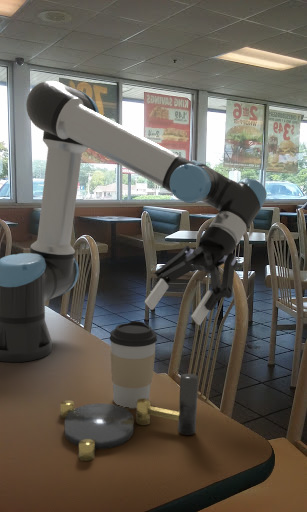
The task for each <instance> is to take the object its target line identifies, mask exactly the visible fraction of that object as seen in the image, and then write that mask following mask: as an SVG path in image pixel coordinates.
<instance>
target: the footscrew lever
mask: <svg viewBox="0 0 307 512" xmlns="http://www.w3.org/2000/svg"><path fill="white" fill-rule="evenodd" d="M179 379H180V381H179V401H178V403H179V404H178V410H177V411H176V410H171V409H165V408H162V407H157V406H151V399H150V398H149V399H144V398H143V399H139V400H137V408H136V421H135V422H136V424H137V425H138V426H139V425H140V426H147V425H149V424H150V422H151V416H154V417H158V418H164V419H168V420H173V421H176V422H177V431H178V433H180V434H181V435H185V436H190V435H193V434H195V433H196V430H197V429H196V427H197V410H198V409H197V408H198V395H199V393H198V392H199V391H198V389H199V376H198V375H197V374H195V373H183V374H181V375H180V378H179Z"/></svg>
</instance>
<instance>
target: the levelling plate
mask: <svg viewBox="0 0 307 512" xmlns="http://www.w3.org/2000/svg"><path fill="white" fill-rule="evenodd" d="M60 417H61V418H63V419H64V436H65V438H66V439H67V440H68V441H69V442H70V443H71V444H73V445H75V446H78V459H79V460H80V461H83V462H91V461H92V460H94V459H95V451H96V450H105V449H111V448H115V447H118V446H121V445H123V444H125V443H126V442H128V441H129V440H130V439H131V438H132V437H133V434H134V423H135V421H134V420H135V419H134V416H133V414H132V413H131V412H130V411H129V410H128V409H127V408H125V407H121V406H118V405H117V404H112V403H105V402H104V403H102V402H101V403H89V404H85V405H80V406H78V407H75V402H74V401H73V400H69V399H68V400H63V401H61V402H60ZM130 437H131V438H130ZM128 439H129V440H128ZM127 440H128V441H127Z"/></svg>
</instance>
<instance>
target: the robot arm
mask: <svg viewBox="0 0 307 512" xmlns="http://www.w3.org/2000/svg"><path fill="white" fill-rule="evenodd" d="M25 105H26V113H27V116H28V118H29V120H30V121H31V123H33V125H34V126H35V127H36V128H37V129H40V130H42V131H43V137H42V141H43V142H44V144H45V145H46V147H47V152H46V153H47V154H46V164H45V172H44V181H43V188H42V189H43V190H42V196H41V197H42V199H41V205H40V212H39V213H40V215H39V223H38V230H37V239H36V241H34V242H33V243H31V245H30V247H29V249H30V250H29V252H28V253H27V252H23V253H17V254H10V255H5V256H3V257H1V258H0V361H1V362H6V363H10V362H11V363H22V362H30V361H36V360H40V359H42V358H45V357H47V356H48V355H50V354H51V353H52V350H53V341H52V337H51V335H50V330H49V328H48V326H47V322H46V316H45V315H46V302H47V301H49V300H52V299H54V298H56V297H60V296H63V295H65V294H67V293H68V292H69V291H70V290H72V289H73V288H74V287H75V285H76V284H77V281H78V279H79V275H80V269H79V264H78V262H76V257H75V254H76V250H75V248H73V246H72V245H71V242H72V234H73V224H74V219H75V211H76V210H75V209H76V201H77V193H78V187H79V178H80V173H81V171H80V170H81V165H82V164H81V163H82V156H83V155H82V154H83V153H84V152H86V151H87V150H88V149H90V150H92V151H93V152H95V153H97V154H99V155H101V156H103V157H104V158H107V159H109V160H111V161H112V162H114V163H116V164H117V165H120V166H122V167H124V168H125V169H127V170H129V171H131V172H133V173H135V174H137V175H139V176H141V177H143V178H144V179H147V181H150V182H152V183H154V184H155V185H157V186H159V187H161V188H163V189H164V190H166V191H168V192H170V193H172V195H174V197H175V198H177V199H178V200H180V201H182V202H184V203H188V204H194V203H197V202H203V203H204V204H207V205H208V206H210V207H212V208H214V209H215V210H217V211H218V212H217V214H216V215H215V217H214V218H213V219H212V221H211V223H210V224H209V225H208V227H207V228H206V230H205V231H204V232H203V234H202V235H201V237H200V238H199V242H198V243H199V244H198V246H197V247H196V248H195V249H193V248H191V247H190V246H189V245H185V246H184V248H182V250H181V251H180V252H179V253H177V255H175V256H173V258H171V259H170V260H168V261H167V262H166V263H165V264H163V265H162V266H161V267H159V268H158V269H157V270H155V271H154V275H155V276H156V277H157V278H158V279H157V280H156V282H155V283H154V285H153V286H152V288H151V291H150V293H149V295H148V296H147V297H146V299H145V300H144V303H145V304H146V306H147V307H148V308H149V309H150V310H155V307H156V306H157V304H158V303H159V302H160V300H161V299H162V297H163V296H164V295H165V293H166V292H167V290H168V289H169V287H170V286H169V285H168V284H170V283H171V282H173V281H175V280H176V281H177V279H179V278H181V277H183V276H185V275H186V274H188V273H190V272H195V271H200V272H201V271H202V272H204V273H209V276H210V277H209V278H210V283H211V287H210V289H211V290H210V289H209V290H207V291H206V293H205V294H204V296H203V297H202V299H201V301H200V302H199V304H198V305H197V307H196V308H195V310H194V311H193V313H192V315H191V316H190V317H191V318H192V319H193V321H194V322H195V323H196V325H199V326H201V324H202V323H203V321H204V320H205V318H206V317H207V315H208V314H209V312H210V311H212V310H214V309H215V306H216V305H217V304H218V302H219V301H220V300H221V299H222V298H226V299H230V298H232V296H233V287H234V285H233V284H234V275H235V269H236V267H237V265H238V262H239V261H238V259H237V258H236V257H235V255H234V253H233V252H234V250H235V249H236V247H237V246H238V244H239V243H240V241H241V240H242V238H243V236H244V235H245V234H246V232H247V230H248V229H249V228H250V226H251V224H252V223H253V221H254V220H255V218H256V217H257V215H258V214H259V212H260V211H261V210H262V207H263V205H264V203H265V202H266V200H267V196H268V193H267V190H266V188H265V186H264V185H263V184H262V183H261V182H260V181H258V180H257V179H254V178H249V177H245V178H244V177H243V178H241V180H239V181H238V182H237V181H235V180H233V179H230V178H228V177H227V176H225V175H223V174H222V173H220V172H218V171H217V170H214V169H213V168H211V167H209V166H208V165H207V164H206V163H205V164H204V163H202V162H200V161H198V160H195V159H194V160H189V159H187V158H184V157H183V156H181V155H179V154H177V153H175V152H173V151H171V150H169V149H167V148H166V147H163V146H161V145H160V144H158V143H156V142H154V141H152V140H150V139H148V138H146V137H144V136H142V135H140V134H138V133H136V132H135V131H132V130H131V129H129V128H127V127H125V126H123V125H121V124H119V123H117V122H115V121H113V120H111V119H110V118H108V117H106V116H104V115H102V114H101V113H100V111H99V108H98V105H97V104H96V102H95V101H94V99H93V98H92V97H91V96H89V95H87V94H86V93H85V92H84V91H81V90H78V89H75V88H74V87H71V86H68V85H66V84H64V83H62V82H59V81H56V80H45V81H41V82H39V83H37V84H35V86H33V87H32V89H31V90H30V91H29V93H28V96H27V98H26V104H25ZM222 265H223V269H222V278H221V276H220V274H221V272H220V266H222ZM221 279H222V280H221Z"/></svg>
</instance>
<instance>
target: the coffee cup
mask: <svg viewBox="0 0 307 512" xmlns="http://www.w3.org/2000/svg"><path fill="white" fill-rule="evenodd" d="M157 337H158V336H157V332H155V331H154V330H152V327H150V326H149V325H147V324H145V323H144V322H143V321H140V320H139V321H138V320H133V321H132V320H131V321H130V322H127V323H120V324H118V325H116V326H115V328H114V329H112V331H111V332H110V337H109V341H110V362H111V363H110V366H111V381H112V393H113V394H112V395H113V396H112V397H113V402H115V403H116V404H115V403H114V404H115V405H117V406H118V405H120V407H121V406H123V408H125V407H129V408H128V409H137V400H139V399H143V398H144V399H149V400H150V395H151V394H150V393H151V385H152V382H153V377H154V376H153V375H154V366H155V365H154V364H155V359H156V357H155V356H156V342H157V341H158V340H157V339H158V338H157Z"/></svg>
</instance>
